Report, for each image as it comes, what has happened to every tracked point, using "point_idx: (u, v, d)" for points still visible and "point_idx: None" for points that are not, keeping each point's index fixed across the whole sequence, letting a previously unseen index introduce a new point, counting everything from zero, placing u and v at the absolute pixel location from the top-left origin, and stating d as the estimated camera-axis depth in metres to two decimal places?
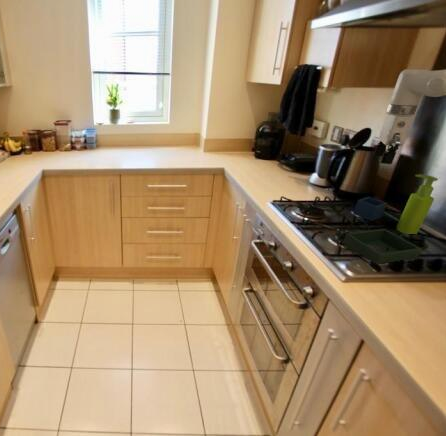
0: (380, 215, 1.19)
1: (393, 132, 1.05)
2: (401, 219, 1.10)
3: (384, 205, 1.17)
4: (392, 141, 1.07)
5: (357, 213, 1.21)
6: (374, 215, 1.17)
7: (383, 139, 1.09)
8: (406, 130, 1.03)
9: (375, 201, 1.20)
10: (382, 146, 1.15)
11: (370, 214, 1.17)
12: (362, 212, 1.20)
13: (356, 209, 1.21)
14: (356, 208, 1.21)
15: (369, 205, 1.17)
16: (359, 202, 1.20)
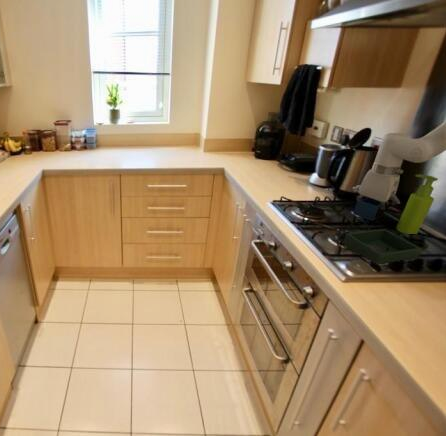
0: None
1: (391, 191, 1.11)
2: (401, 219, 1.10)
3: None
4: None
5: (357, 213, 1.21)
6: (374, 215, 1.17)
7: (376, 196, 1.15)
8: (397, 187, 1.12)
9: (375, 201, 1.20)
10: None
11: (370, 214, 1.17)
12: (362, 212, 1.20)
13: (356, 209, 1.21)
14: (356, 208, 1.21)
15: (369, 205, 1.17)
16: (359, 202, 1.20)
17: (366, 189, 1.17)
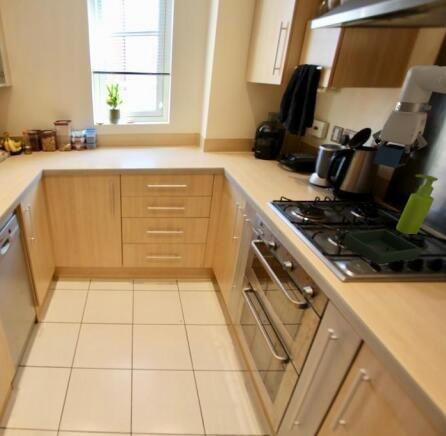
0: None
1: (418, 131, 1.00)
2: (401, 219, 1.10)
3: None
4: None
5: (378, 161, 1.10)
6: (398, 161, 1.06)
7: (400, 139, 1.04)
8: (424, 127, 1.01)
9: (398, 147, 1.09)
10: None
11: (393, 160, 1.06)
12: (384, 159, 1.09)
13: (377, 157, 1.10)
14: (377, 156, 1.10)
15: (392, 150, 1.06)
16: (380, 148, 1.09)
17: (388, 133, 1.07)
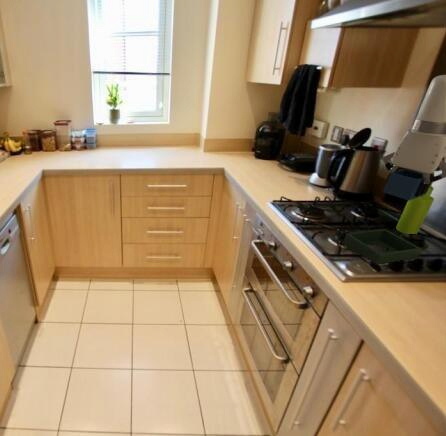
0: None
1: (441, 157, 0.80)
2: (401, 219, 1.10)
3: None
4: None
5: (389, 191, 0.90)
6: (414, 193, 0.86)
7: (418, 166, 0.84)
8: None
9: (413, 174, 0.89)
10: None
11: (408, 191, 0.86)
12: (397, 189, 0.88)
13: (388, 185, 0.90)
14: (388, 184, 0.90)
15: (407, 179, 0.86)
16: (392, 175, 0.89)
17: (403, 157, 0.86)
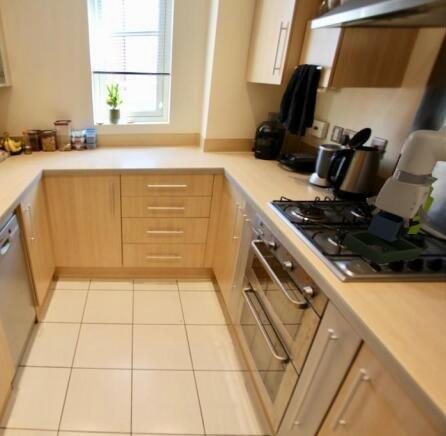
0: None
1: (419, 205, 0.86)
2: None
3: None
4: None
5: (372, 231, 0.96)
6: (395, 235, 0.92)
7: (398, 211, 0.90)
8: (426, 199, 0.87)
9: (395, 216, 0.95)
10: None
11: (390, 233, 0.92)
12: (379, 231, 0.95)
13: (371, 226, 0.96)
14: (371, 225, 0.96)
15: (389, 222, 0.92)
16: (375, 218, 0.95)
17: (385, 201, 0.92)
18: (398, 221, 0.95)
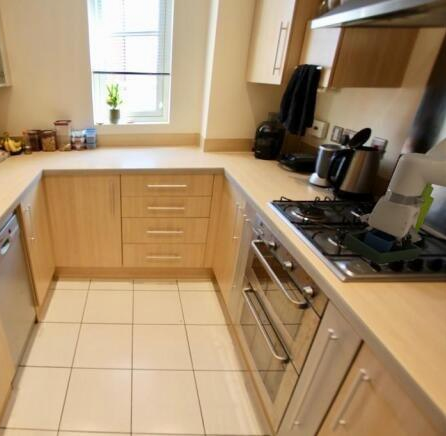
0: None
1: (410, 224, 0.89)
2: None
3: None
4: None
5: None
6: None
7: (390, 230, 0.93)
8: None
9: (387, 234, 0.98)
10: None
11: (382, 251, 0.95)
12: (372, 248, 0.98)
13: None
14: (364, 243, 0.99)
15: (381, 241, 0.95)
16: (368, 236, 0.98)
17: (377, 220, 0.95)
18: (390, 239, 0.98)
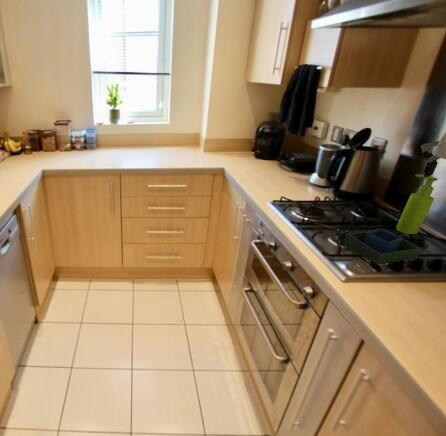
0: None
1: None
2: (401, 219, 1.10)
3: (399, 240, 0.95)
4: None
5: None
6: None
7: None
8: None
9: (387, 234, 0.98)
10: (434, 164, 0.87)
11: (382, 251, 0.95)
12: (372, 248, 0.98)
13: None
14: (364, 243, 0.99)
15: (381, 241, 0.95)
16: (368, 236, 0.98)
17: None
18: (390, 239, 0.98)
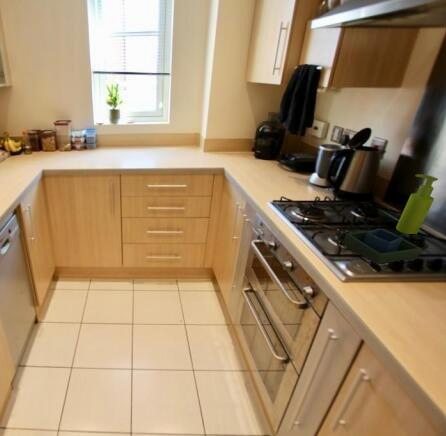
0: None
1: None
2: (401, 219, 1.10)
3: (399, 240, 0.95)
4: None
5: None
6: None
7: None
8: None
9: (387, 234, 0.98)
10: None
11: (382, 251, 0.95)
12: (372, 248, 0.98)
13: None
14: (364, 243, 0.99)
15: (381, 241, 0.95)
16: (368, 236, 0.98)
17: None
18: (390, 239, 0.98)
